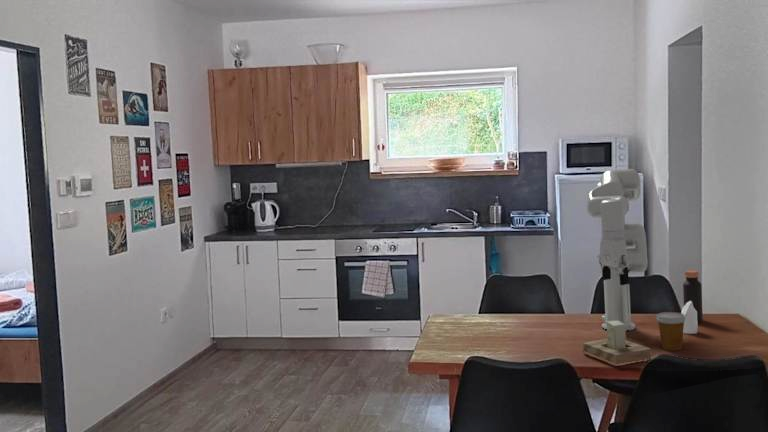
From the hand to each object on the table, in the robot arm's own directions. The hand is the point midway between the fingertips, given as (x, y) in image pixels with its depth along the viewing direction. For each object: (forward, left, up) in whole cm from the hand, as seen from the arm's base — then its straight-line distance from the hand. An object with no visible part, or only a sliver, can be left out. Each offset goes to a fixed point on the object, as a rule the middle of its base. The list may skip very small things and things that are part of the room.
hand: (615, 281), depth 255 cm
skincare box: (+8, -7, -25) cm, 27 cm away
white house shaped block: (-4, +35, -25) cm, 43 cm away
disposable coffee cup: (+9, +15, -25) cm, 30 cm away
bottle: (-16, +48, -25) cm, 56 cm away
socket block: (+7, -7, -24) cm, 26 cm away
